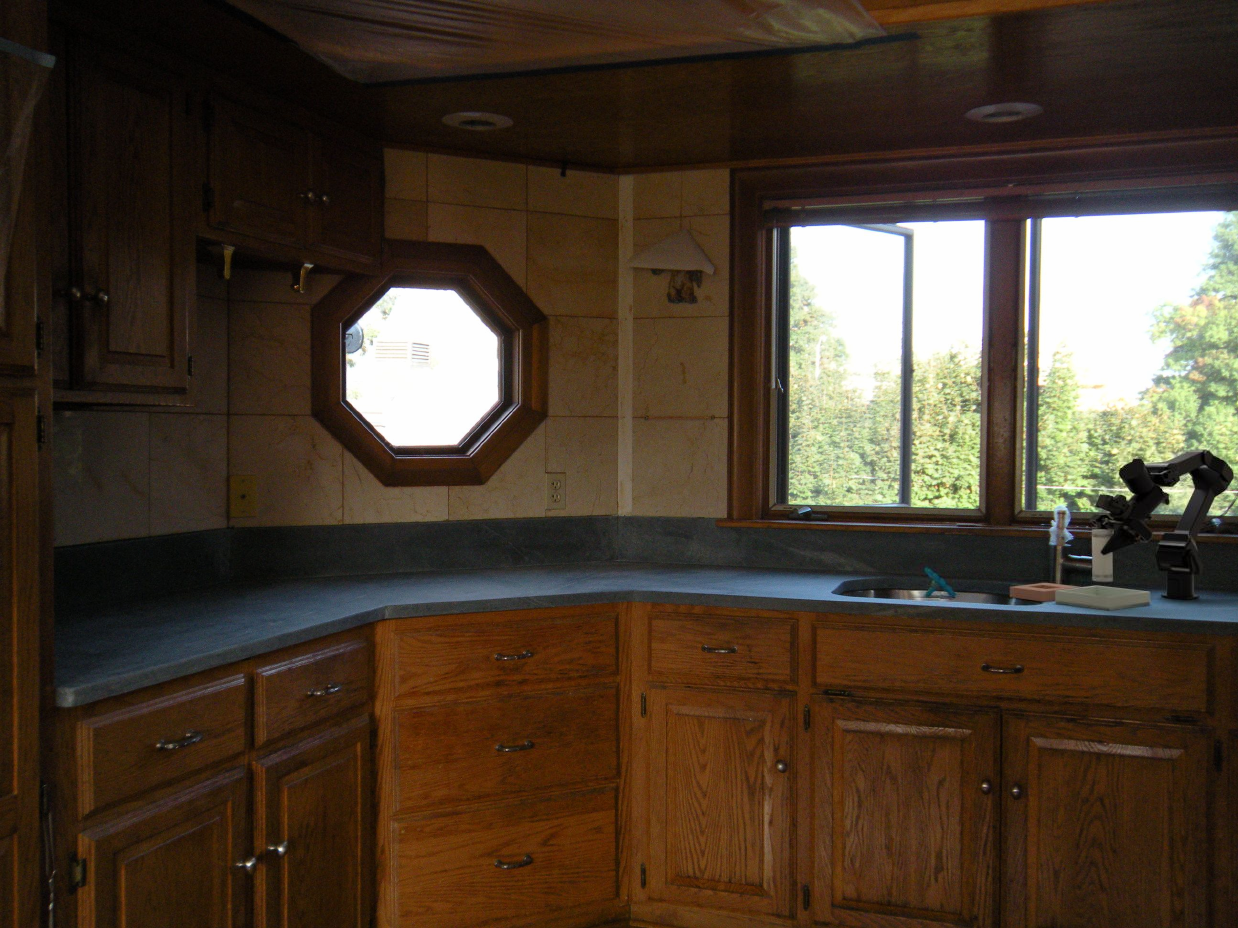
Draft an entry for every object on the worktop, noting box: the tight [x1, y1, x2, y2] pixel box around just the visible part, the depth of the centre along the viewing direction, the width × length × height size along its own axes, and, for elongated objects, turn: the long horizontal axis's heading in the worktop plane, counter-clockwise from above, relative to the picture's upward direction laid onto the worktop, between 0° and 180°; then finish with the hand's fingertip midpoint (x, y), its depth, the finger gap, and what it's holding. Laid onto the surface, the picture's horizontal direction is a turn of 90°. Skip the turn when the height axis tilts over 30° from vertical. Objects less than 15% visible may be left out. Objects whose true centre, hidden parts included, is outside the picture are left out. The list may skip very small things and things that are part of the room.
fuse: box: [1091, 528, 1114, 583], centre depth 247 cm, size 4×4×12 cm
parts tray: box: [1054, 585, 1151, 611], centre depth 247 cm, size 16×14×3 cm
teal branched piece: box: [924, 567, 957, 598], centre depth 262 cm, size 11×6×10 cm
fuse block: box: [1009, 582, 1081, 603], centre depth 260 cm, size 14×10×2 cm
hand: (1096, 552), depth 247 cm, fingers closed on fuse, 4 cm apart
